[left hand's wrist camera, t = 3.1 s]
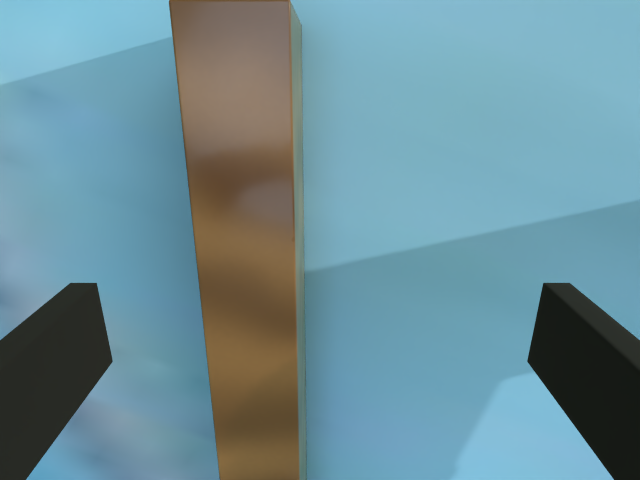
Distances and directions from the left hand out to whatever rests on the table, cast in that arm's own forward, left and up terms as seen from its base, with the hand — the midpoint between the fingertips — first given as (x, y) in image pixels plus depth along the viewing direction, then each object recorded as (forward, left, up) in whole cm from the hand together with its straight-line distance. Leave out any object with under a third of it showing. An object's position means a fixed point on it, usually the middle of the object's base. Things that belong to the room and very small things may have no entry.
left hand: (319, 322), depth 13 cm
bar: (+24, +1, -15) cm, 28 cm away
